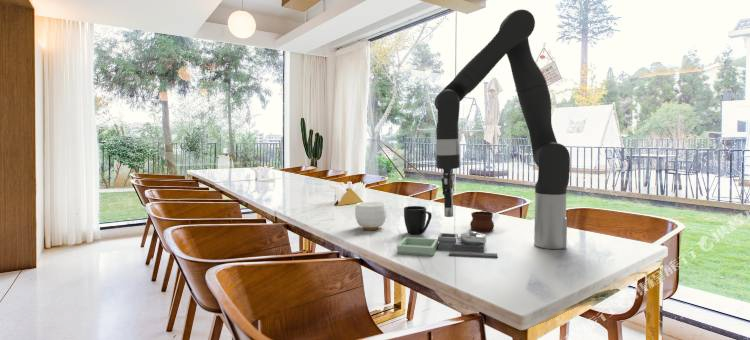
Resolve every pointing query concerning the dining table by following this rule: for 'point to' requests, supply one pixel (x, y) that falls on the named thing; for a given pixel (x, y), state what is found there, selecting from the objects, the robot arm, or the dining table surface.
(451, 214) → the lock pin
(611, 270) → the dining table surface
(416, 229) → the mug
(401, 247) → the tray
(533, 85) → the robot arm
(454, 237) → the grey stepped block
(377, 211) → the cup
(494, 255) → the strip
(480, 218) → the ceramic pot
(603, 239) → the dining table surface
